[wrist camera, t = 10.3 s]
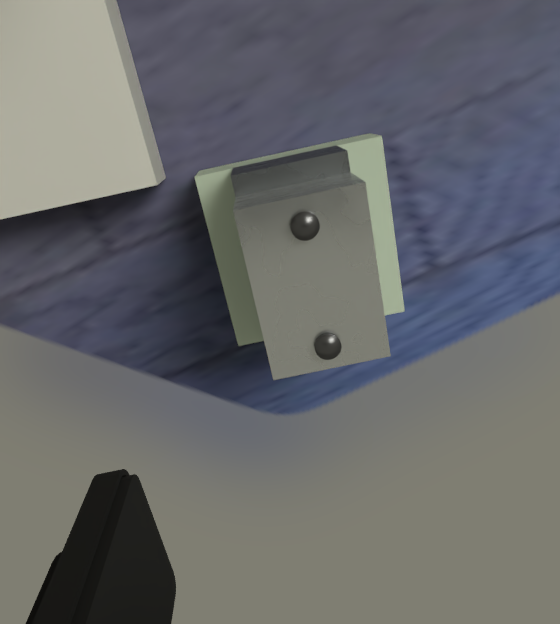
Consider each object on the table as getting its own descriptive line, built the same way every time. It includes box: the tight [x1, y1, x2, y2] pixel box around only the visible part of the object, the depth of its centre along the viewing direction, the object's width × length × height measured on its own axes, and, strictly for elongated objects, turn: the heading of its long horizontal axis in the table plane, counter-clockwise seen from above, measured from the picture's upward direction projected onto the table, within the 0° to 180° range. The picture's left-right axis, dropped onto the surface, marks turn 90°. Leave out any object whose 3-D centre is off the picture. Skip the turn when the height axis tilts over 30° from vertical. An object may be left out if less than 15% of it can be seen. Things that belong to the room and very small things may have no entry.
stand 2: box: [195, 133, 405, 346], centre depth 31 cm, size 10×10×3 cm
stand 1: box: [0, 0, 166, 219], centre depth 28 cm, size 10×10×3 cm
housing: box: [231, 145, 390, 380], centre depth 26 cm, size 10×6×7 cm, turn 12°
